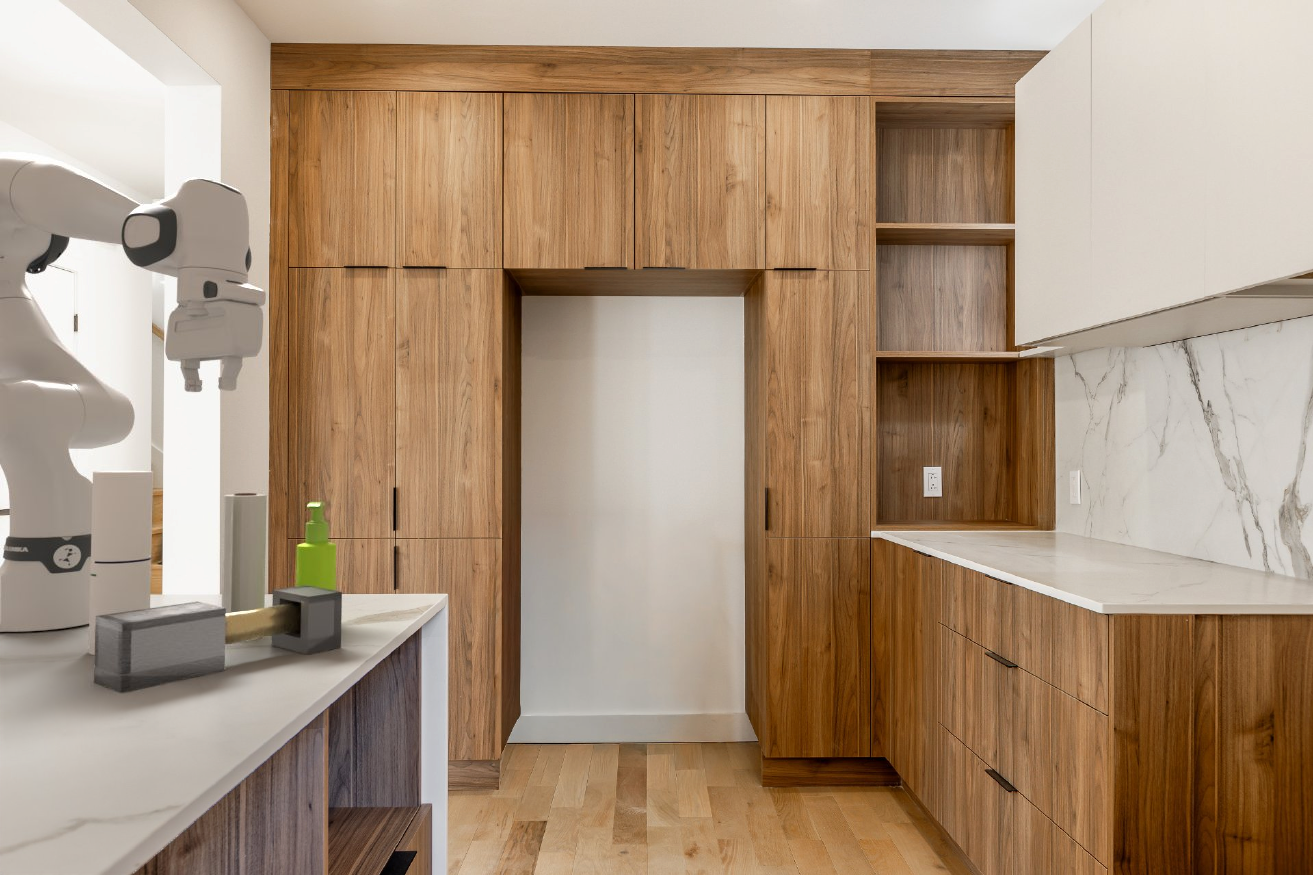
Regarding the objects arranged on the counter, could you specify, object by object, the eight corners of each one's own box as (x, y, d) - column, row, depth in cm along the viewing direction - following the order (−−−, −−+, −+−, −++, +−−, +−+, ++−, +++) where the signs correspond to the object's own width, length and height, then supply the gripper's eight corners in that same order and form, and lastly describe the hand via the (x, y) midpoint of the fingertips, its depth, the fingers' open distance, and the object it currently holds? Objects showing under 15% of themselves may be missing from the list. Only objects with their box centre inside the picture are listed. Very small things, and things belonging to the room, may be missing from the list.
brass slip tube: (199, 655, 103) (200, 619, 103) (181, 650, 106) (182, 614, 106) (315, 633, 116) (315, 601, 116) (296, 629, 119) (297, 597, 119)
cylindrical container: (119, 657, 110) (123, 472, 111) (75, 653, 112) (79, 471, 112) (161, 645, 117) (165, 471, 118) (119, 642, 119) (123, 470, 119)
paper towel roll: (247, 625, 131) (250, 492, 132) (272, 629, 128) (275, 493, 129) (205, 633, 125) (207, 494, 125) (230, 638, 122) (233, 495, 122)
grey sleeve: (120, 692, 94) (122, 623, 95) (93, 682, 98) (95, 615, 99) (224, 670, 104) (225, 607, 104) (196, 661, 108) (197, 601, 109)
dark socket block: (307, 654, 113) (308, 596, 113) (271, 645, 118) (272, 589, 118) (340, 647, 117) (341, 591, 117) (304, 638, 122) (305, 585, 122)
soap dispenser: (290, 632, 127) (293, 503, 127) (299, 622, 133) (301, 500, 134) (330, 630, 128) (333, 503, 128) (337, 621, 135) (339, 500, 135)
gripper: (154, 297, 119) (151, 391, 119) (227, 283, 108) (224, 387, 108) (198, 303, 125) (196, 394, 124) (273, 291, 113) (270, 391, 113)
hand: (209, 391), depth 116 cm, fingers open, 8 cm apart
